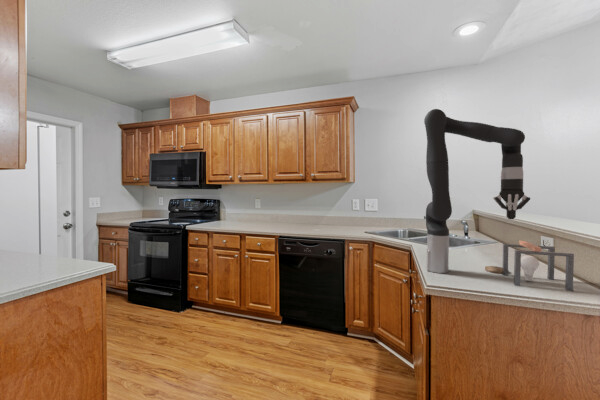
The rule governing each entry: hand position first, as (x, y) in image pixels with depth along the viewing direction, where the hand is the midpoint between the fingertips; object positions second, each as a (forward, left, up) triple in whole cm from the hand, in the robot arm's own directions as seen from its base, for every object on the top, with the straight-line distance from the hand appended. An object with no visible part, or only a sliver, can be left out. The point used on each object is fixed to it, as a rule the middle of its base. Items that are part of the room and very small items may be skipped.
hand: (511, 219), depth 118 cm
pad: (-1, +13, -26) cm, 29 cm away
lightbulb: (+7, 0, -26) cm, 27 cm away
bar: (+7, 0, -12) cm, 13 cm away
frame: (+8, 0, -26) cm, 27 cm away
